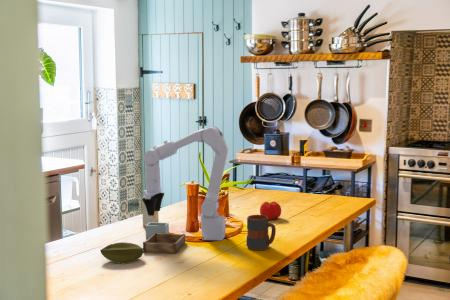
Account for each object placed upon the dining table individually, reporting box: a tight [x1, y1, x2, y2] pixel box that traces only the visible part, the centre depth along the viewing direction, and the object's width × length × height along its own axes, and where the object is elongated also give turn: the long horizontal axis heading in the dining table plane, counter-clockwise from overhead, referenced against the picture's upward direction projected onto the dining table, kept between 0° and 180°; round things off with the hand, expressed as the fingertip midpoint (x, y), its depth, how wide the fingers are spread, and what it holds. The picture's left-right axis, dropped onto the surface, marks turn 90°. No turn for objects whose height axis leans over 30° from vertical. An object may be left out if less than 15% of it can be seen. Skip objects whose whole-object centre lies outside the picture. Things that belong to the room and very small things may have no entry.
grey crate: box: [145, 222, 170, 240], centre depth 237 cm, size 8×5×6 cm, turn 79°
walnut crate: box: [142, 233, 186, 255], centre depth 223 cm, size 12×13×4 cm
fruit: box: [100, 241, 144, 264], centre depth 208 cm, size 11×12×7 cm
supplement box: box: [141, 195, 160, 228], centre depth 256 cm, size 8×5×13 cm, turn 168°
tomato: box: [259, 200, 282, 221], centre depth 265 cm, size 9×9×8 cm
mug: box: [246, 214, 277, 251], centre depth 220 cm, size 9×12×12 cm
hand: (154, 213), depth 237 cm, fingers open, 7 cm apart
